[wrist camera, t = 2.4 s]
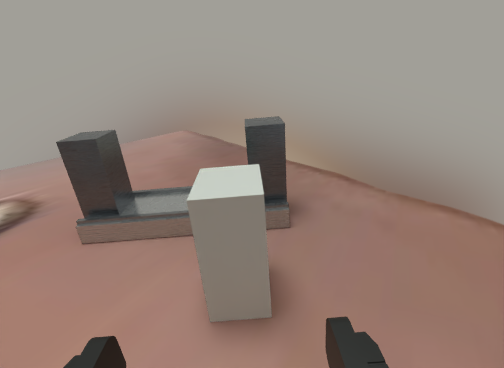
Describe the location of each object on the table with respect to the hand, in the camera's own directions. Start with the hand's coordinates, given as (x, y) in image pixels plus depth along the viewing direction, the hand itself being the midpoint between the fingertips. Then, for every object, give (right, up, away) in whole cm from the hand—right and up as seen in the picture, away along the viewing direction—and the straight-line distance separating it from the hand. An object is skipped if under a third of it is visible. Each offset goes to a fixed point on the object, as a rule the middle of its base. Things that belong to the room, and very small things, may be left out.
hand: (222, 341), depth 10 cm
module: (0, -4, +14) cm, 14 cm away
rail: (-7, +1, +27) cm, 28 cm away
